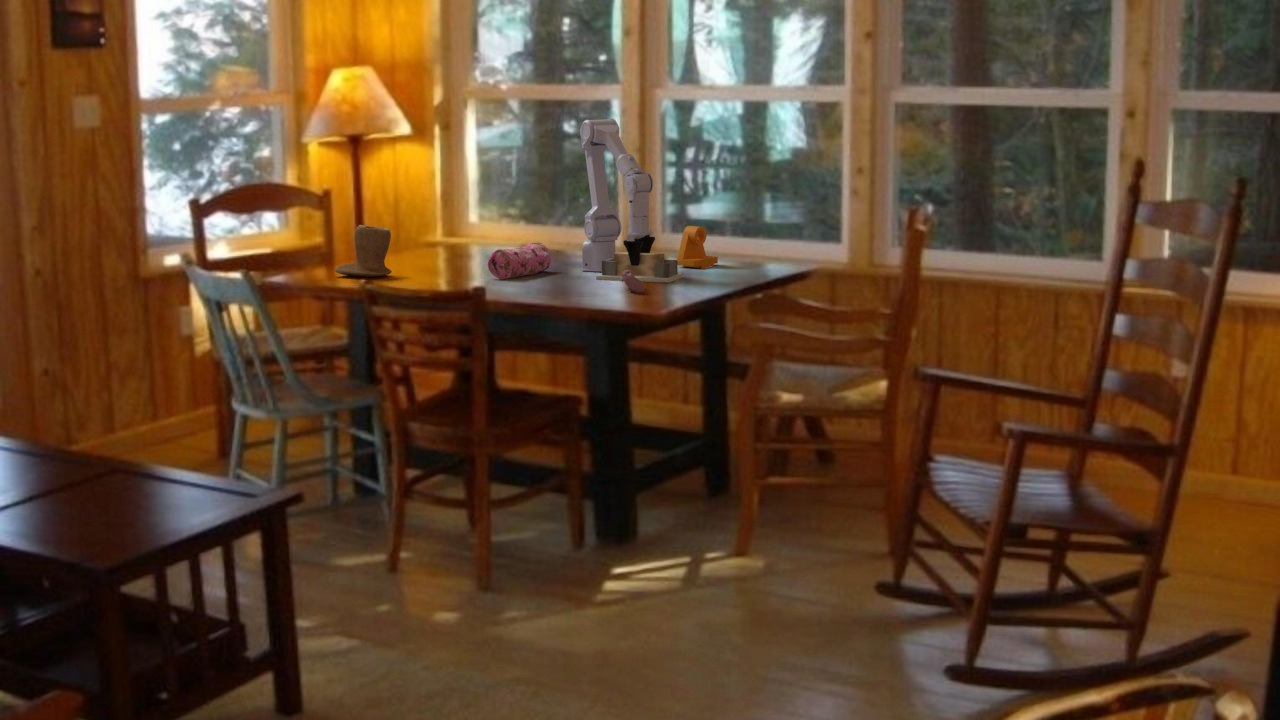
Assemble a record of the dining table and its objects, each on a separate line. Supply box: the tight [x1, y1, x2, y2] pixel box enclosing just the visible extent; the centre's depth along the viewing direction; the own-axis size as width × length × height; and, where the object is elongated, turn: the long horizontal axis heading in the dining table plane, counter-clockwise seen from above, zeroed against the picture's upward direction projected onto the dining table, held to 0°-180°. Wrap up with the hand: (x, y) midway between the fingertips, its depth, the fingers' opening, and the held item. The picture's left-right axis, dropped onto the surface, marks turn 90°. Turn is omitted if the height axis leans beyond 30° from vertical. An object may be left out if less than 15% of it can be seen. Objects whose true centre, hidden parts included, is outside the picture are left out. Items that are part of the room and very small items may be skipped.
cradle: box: [595, 258, 684, 283], centre depth 493 cm, size 22×12×5 cm, turn 69°
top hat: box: [334, 224, 392, 278], centre depth 503 cm, size 15×12×15 cm
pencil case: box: [487, 242, 552, 280], centre depth 501 cm, size 21×9×9 cm, turn 150°
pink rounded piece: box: [621, 270, 646, 294], centre depth 469 cm, size 10×5×7 cm, turn 5°
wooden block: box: [614, 251, 665, 276], centre depth 492 cm, size 14×4×6 cm, turn 69°
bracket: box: [676, 225, 718, 269], centre depth 515 cm, size 11×7×12 cm, turn 138°
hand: (639, 263), depth 492 cm, fingers open, 7 cm apart
